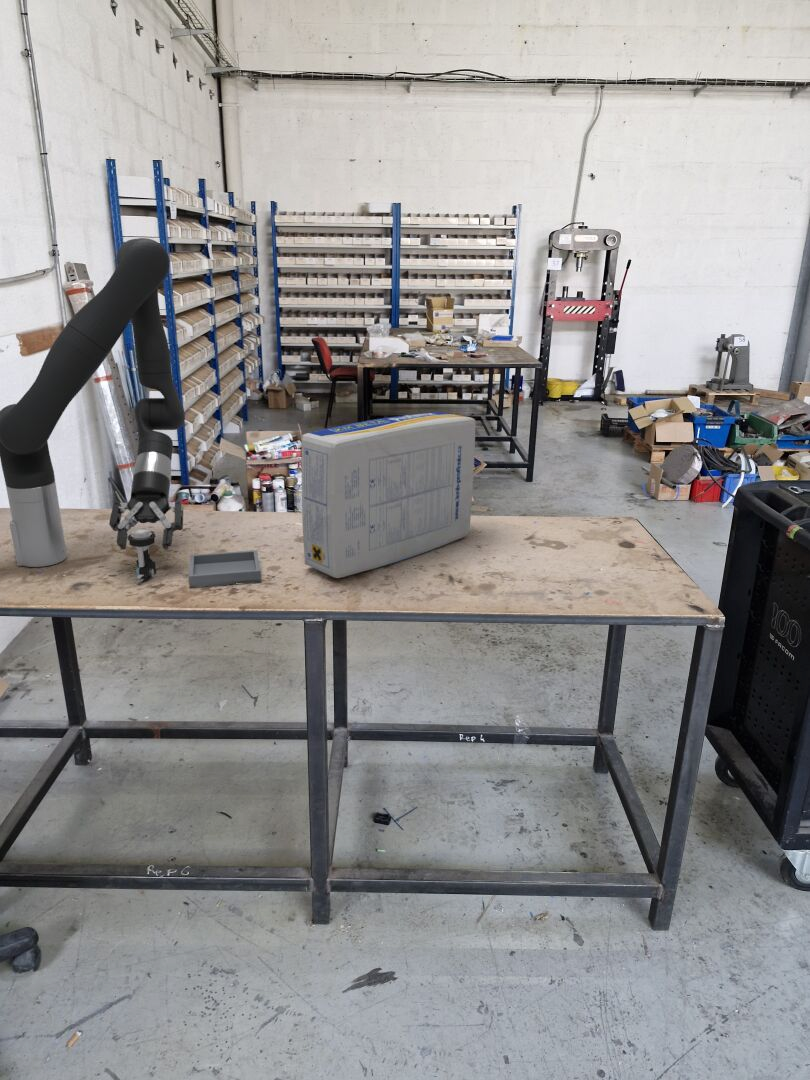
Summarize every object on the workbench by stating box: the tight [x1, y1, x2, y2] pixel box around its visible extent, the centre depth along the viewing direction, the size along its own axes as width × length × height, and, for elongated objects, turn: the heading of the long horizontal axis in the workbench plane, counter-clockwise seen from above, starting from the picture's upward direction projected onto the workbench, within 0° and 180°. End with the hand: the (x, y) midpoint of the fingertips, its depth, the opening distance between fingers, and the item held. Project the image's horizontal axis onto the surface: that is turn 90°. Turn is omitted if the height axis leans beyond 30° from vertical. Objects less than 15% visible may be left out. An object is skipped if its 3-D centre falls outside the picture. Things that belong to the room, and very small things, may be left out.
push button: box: [127, 528, 157, 583], centre depth 144 cm, size 7×5×10 cm
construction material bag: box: [301, 411, 476, 579], centre depth 157 cm, size 43×12×30 cm, turn 134°
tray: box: [188, 549, 262, 589], centre depth 148 cm, size 14×12×2 cm
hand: (143, 547), depth 144 cm, fingers open, 8 cm apart
